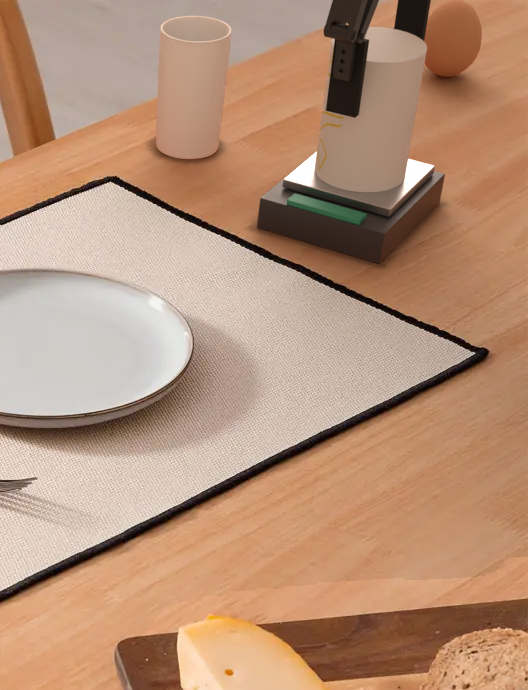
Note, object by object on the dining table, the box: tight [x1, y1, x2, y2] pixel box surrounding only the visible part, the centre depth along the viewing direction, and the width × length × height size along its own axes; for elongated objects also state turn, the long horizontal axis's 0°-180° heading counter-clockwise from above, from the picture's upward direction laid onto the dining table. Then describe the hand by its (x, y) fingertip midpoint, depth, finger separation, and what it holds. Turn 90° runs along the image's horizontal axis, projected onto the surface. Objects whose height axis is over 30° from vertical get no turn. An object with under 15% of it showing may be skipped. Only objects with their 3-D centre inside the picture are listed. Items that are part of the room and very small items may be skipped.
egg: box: [424, 0, 483, 78], centre depth 166 cm, size 6×6×8 cm
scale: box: [256, 151, 446, 265], centre depth 142 cm, size 12×14×4 cm
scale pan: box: [282, 150, 436, 217], centre depth 142 cm, size 10×10×1 cm
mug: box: [155, 15, 232, 160], centre depth 152 cm, size 10×7×12 cm, turn 163°
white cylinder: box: [315, 26, 427, 192], centre depth 138 cm, size 8×8×12 cm
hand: (374, 87), depth 136 cm, fingers open, 13 cm apart
